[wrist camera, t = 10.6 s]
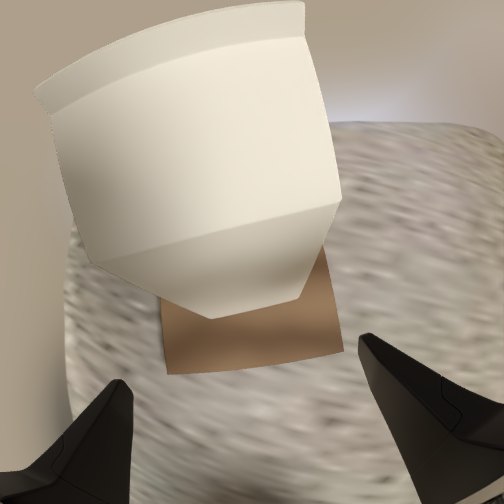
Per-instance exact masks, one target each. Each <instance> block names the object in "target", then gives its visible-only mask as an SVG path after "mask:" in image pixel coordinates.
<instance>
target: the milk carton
mask: <svg viewBox="0 0 504 504" xmlns="http://www.w3.org/2000/svg"><path fill="white" fill-rule="evenodd" d="M304 33H305V4H304V3H303V2H302V1H277V2H264V3H254V4H246V5H239V6H233V7H227V8H222V9H216V10H211V11H206V12H202V13H198V14H194V15H190V16H186V17H182V18H179V19H175V20H172V21H169V22H165V23H162V24H159V25H156V26H153V27H150V28H147V29H145V30H142V31H139V32H137V33H134V34H132V35H129V36H127V37H124V38H122V39H120V40H117V41H115V42H113V43H111V44H108V45H106V46H104V47H103V48H101V49H98V50H96V51H94V52H92V53H90V54H88V55H86V56H84V57H83V58H81V59H79V60H77V61H76V62H74V63H72V64H70V65H69V66H67V67H65V68H63V69H62V70H60V71H59V72H57V73H56V74H54V75H52V76H51V77H49V78H48V79H46V80H45V81H43V82H42V83H40V84H39V85H38V86H36V87H35V89H34V91H33V94H34V95H35V97H36V98H37V99H38V101H39V102H40V103H41V105H42V106H43V107H44V108H45V110H46V111H47V112H48V113H49V115H50V118H51V124H52V131H53V136H54V142H55V147H56V152H57V156H58V161H59V165H60V170H61V174H62V177H63V182H64V185H65V189H66V193H67V196H68V200H69V203H70V206H71V210H72V213H73V216H74V219H75V222H76V225H77V228H78V231H79V234H80V236H81V239H82V242H83V245H84V247H85V250H86V252H87V255H88V258H89V260H90V262H91V263H92V264H95V265H97V266H99V267H100V268H102V269H104V270H106V271H108V272H110V273H112V274H114V275H116V276H118V277H120V278H122V279H124V280H126V281H128V282H130V283H132V284H134V285H136V286H138V287H140V288H142V289H144V290H146V291H148V292H150V293H152V294H154V295H157V296H159V297H161V298H163V299H165V300H167V301H170V302H172V303H174V304H176V305H179V306H181V307H183V308H185V309H188V310H190V311H192V312H195V313H197V314H199V315H202V316H204V317H206V318H209V319H215V318H220V317H225V316H230V315H234V314H238V313H243V312H247V311H252V310H256V309H260V308H264V307H268V306H272V305H277V304H281V303H284V302H288V301H292V300H295V299H298V298H299V296H300V294H301V292H302V290H303V288H304V285H305V283H306V281H307V279H308V277H309V274H310V272H311V270H312V268H313V265H314V263H315V261H316V259H317V256H318V254H319V252H320V249H321V247H322V245H323V242H324V240H325V238H326V235H327V233H328V230H329V228H330V226H331V223H332V221H333V218H334V216H335V213H336V211H337V208H338V206H339V203H340V201H341V200H342V195H341V188H340V182H339V175H338V170H337V164H336V158H335V153H334V148H333V143H332V138H331V133H330V128H329V124H328V120H327V115H326V111H325V106H324V102H323V98H322V94H321V91H320V87H319V83H318V79H317V75H316V72H315V68H314V65H313V61H312V58H311V55H310V52H309V48H308V45H307V43H306V39H305V36H304V35H305V34H304Z"/></svg>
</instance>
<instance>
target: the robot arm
mask: <svg viewBox="0 0 504 504" xmlns="http://www.w3.org/2000/svg"><path fill="white" fill-rule="evenodd" d="M358 355H359V358H360V361H361V364H362V367H363V369H364V372H365V375H366V378H367V381H368V384H369V387H370V389H371V392H372V394H373V396H374V398H375V400H376V402H377V404H378V406H379V408H380V410H381V412H382V415H383V417H384V419H385V421H386V423H387V425H388V427H389V429H390V431H391V434H392V436H393V438H394V440H395V442H396V445H397V447H398V449H399V451H400V453H401V456H402V458H403V460H404V462H405V465H406V467H407V469H408V472H409V474H410V475H411V479H412V481H413V484H414V486H415V489H416V491H417V493H418V496H419V498H420V501H421V503H422V504H504V404H502V403H498V402H495V401H492V400H490V399H488V398H485V397H483V396H481V395H478V394H476V393H474V392H471V391H469V390H467V389H465V388H463V387H461V386H459V385H457V384H455V383H454V382H452V381H450V380H448V379H447V378H445V377H443V376H442V377H441V375H440V374H438V373H436V372H435V371H433V370H431V369H430V368H428V367H426V366H425V365H423V364H421V363H420V362H418V361H416V360H415V359H413V358H412V357H410V356H408V355H407V354H405V353H403V352H402V351H400V350H398V349H397V348H395V347H393V346H392V345H390V344H388V343H387V342H385V341H383V340H382V339H380V338H378V337H377V336H375V335H374V334H372V333H366V334H363V335H360V336H359V342H358ZM133 398H134V397H133V393H132V391H131V389H130V388H129V387H128V386H127V384H126V383H125V382H124V381H123V380H122V379H114V380H112V381H111V382H110V383H109V384H108V385H107V386H106V387H105V388H104V390H103V391H102V392H101V393H100V394H99V395H98V396H97V397H96V398H95V399H94V400H93V401H92V402H91V404H90V405H89V406H88V407H87V408H86V409H85V410H84V411H83V412H82V413H81V414H80V415H79V416H78V418H77V419H76V420H75V421H74V422H73V423H72V424H71V425H70V426H69V428H68V429H67V430H66V431H65V432H64V433H63V435H61V436H60V437H59V438H58V439H57V441H56V442H55V443H54V444H53V445H52V446H51V447H50V448H49V449H48V450H47V451H46V452H44V454H42V455H41V456H40V457H39V458H38V459H37V460H36V461H35V462H34V463H32V464H31V465H30V466H29V467H28V468H26V469H24V470H20V471H13V472H12V471H11V472H0V504H129V491H130V465H131V450H132V438H133Z"/></svg>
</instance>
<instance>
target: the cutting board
mask: <svg viewBox="0 0 504 504" xmlns="http://www.w3.org/2000/svg"><path fill="white" fill-rule="evenodd" d="M160 304H161V318H162V330H163V341H164V350H165V359H166V367H167V375H169V374H191V373H206V372H219V371H229V370H239V369H247V368H255V367H263V366H270V365H276V364H283V363H289V362H294V361H300V360H305V359H311V358H316V357H321V356H325V355H330V354H335V353H339V352H343V351H344V348H343V342H342V336H341V330H340V325H339V319H338V314H337V308H336V303H335V298H334V293H333V288H332V284H331V279H330V274H329V270H328V265H327V261H326V256H325V252H324V248H323V245H322V247H321V249H320V252H319V254H318V256H317V259H316V261H315V263H314V265H313V268H312V270H311V272H310V274H309V277H308V279H307V281H306V283H305V285H304V288H303V290H302V292H301V294H300V296H299V298H298V299H295V300H292V301H288V302H284V303H281V304H277V305H272V306H268V307H264V308H260V309H256V310H252V311H247V312H243V313H238V314H234V315H230V316H225V317H220V318H215V319H209V318H206V317H204V316H202V315H199V314H197V313H195V312H192V311H190V310H188V309H185V308H183V307H181V306H179V305H176V304H174V303H172V302H170V301H167V300H165V299H163V298H161V297H160Z"/></svg>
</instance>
